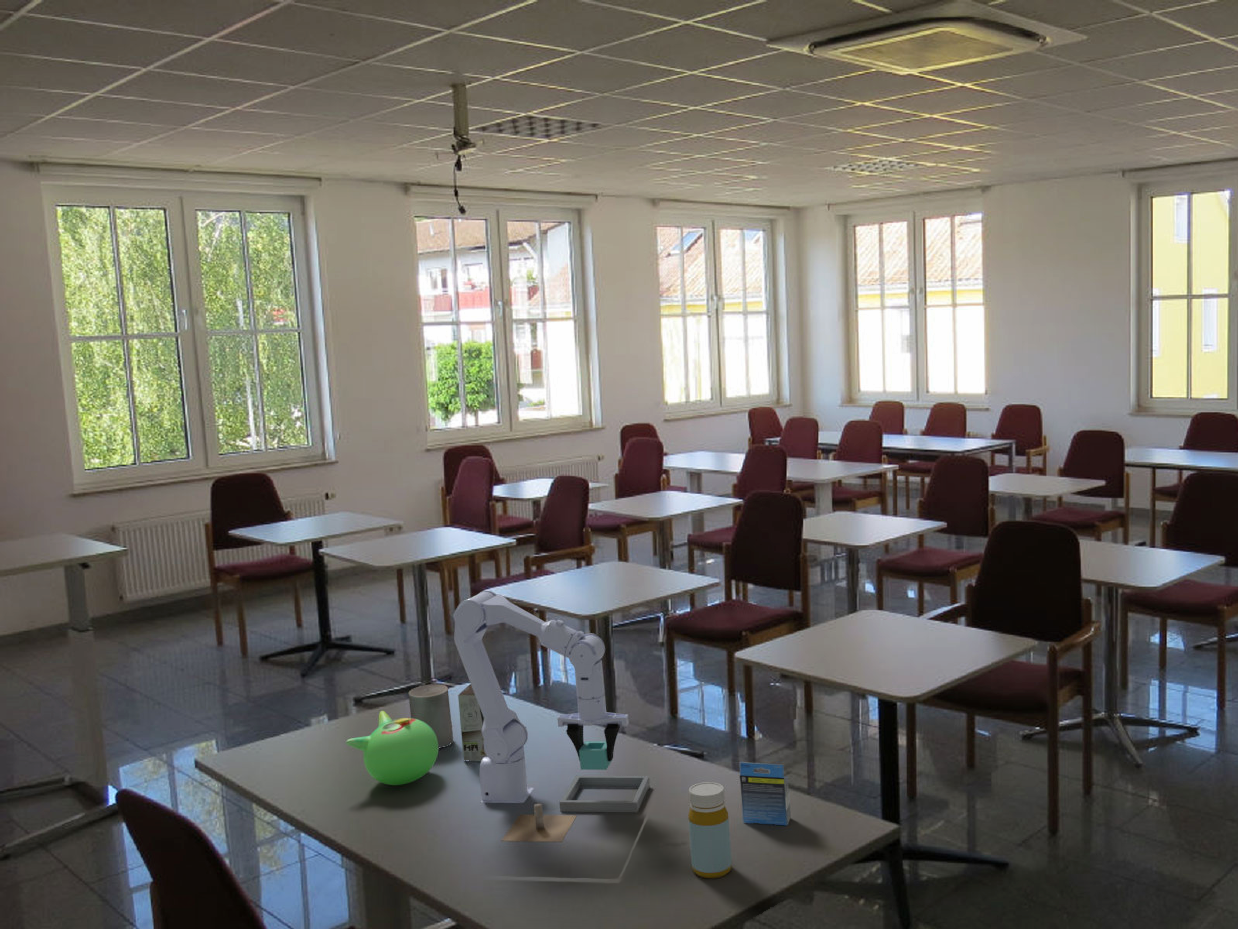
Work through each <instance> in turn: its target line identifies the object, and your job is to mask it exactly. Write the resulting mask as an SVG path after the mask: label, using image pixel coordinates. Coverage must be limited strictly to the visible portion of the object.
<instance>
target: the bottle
mask: <svg viewBox="0 0 1238 929" xmlns="http://www.w3.org/2000/svg"><path fill="white" fill-rule="evenodd" d="M688 797H689V798H688V799H689V807H690V808H689V811H688V828H689V829H688V830H689V843H690V844H689V845H690V854H691V855H690V857H691V865H692V866H691V867H692V871H693V872H694V873H695V874H696V875H697V876H699V877H701V878H705V879H718V878H722V877H724V876H726V875H727V874H728V873H729V872H730V871H731V869H732V867H733V866H732V862H733V861H732V860H733V859H732V851H731V850H732V848H731V847H732V846H731V834H730V822H729V820H730V818H729V813H728V810H727V808H726V804H725V802H726V800H725V798H726V797H725V787H724V786H723V785H722V784H721V783H719V782H712V781H705V782H698V783H695V784H693V785H691V786H690V787H689V789H688Z"/></svg>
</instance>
